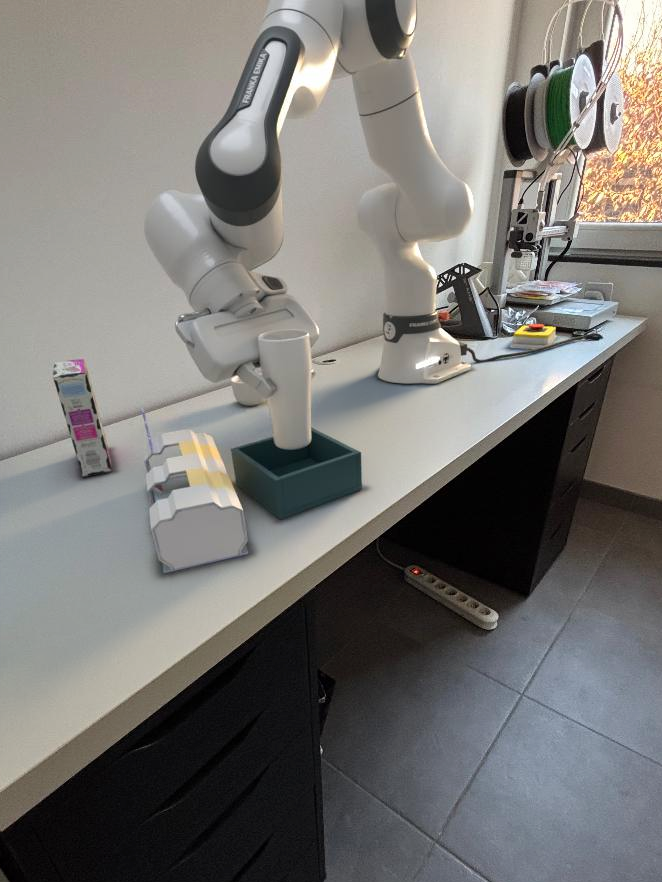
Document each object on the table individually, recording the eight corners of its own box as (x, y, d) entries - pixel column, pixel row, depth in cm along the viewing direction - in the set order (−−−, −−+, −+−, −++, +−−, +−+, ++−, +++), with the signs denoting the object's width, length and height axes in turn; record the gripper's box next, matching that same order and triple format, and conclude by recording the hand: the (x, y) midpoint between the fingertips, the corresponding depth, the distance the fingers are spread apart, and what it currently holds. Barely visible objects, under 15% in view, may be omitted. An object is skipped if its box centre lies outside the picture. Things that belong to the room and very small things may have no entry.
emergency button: (559, 321, 146) (548, 332, 135) (556, 337, 148) (545, 350, 137) (524, 319, 150) (510, 330, 139) (522, 335, 152) (508, 347, 141)
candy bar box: (114, 471, 87) (87, 372, 78) (82, 478, 85) (50, 377, 77) (109, 448, 96) (84, 356, 88) (80, 454, 94) (51, 361, 86)
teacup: (257, 410, 109) (253, 384, 107) (226, 406, 113) (223, 381, 110) (281, 395, 117) (279, 371, 114) (252, 392, 120) (249, 368, 118)
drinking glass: (311, 454, 71) (303, 340, 64) (263, 453, 73) (249, 340, 65) (321, 435, 77) (314, 328, 69) (276, 434, 78) (265, 329, 71)
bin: (311, 459, 86) (309, 425, 83) (362, 489, 76) (361, 452, 73) (236, 484, 80) (230, 448, 77) (280, 519, 70) (275, 480, 67)
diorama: (151, 484, 82) (131, 402, 75) (218, 471, 84) (204, 391, 78) (162, 573, 61) (135, 471, 54) (249, 553, 64) (234, 453, 57)
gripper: (175, 299, 62) (245, 393, 61) (290, 277, 75) (348, 353, 75) (160, 335, 66) (225, 423, 66) (270, 308, 80) (325, 380, 79)
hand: (291, 386), depth 70 cm, fingers closed on drinking glass, 6 cm apart
